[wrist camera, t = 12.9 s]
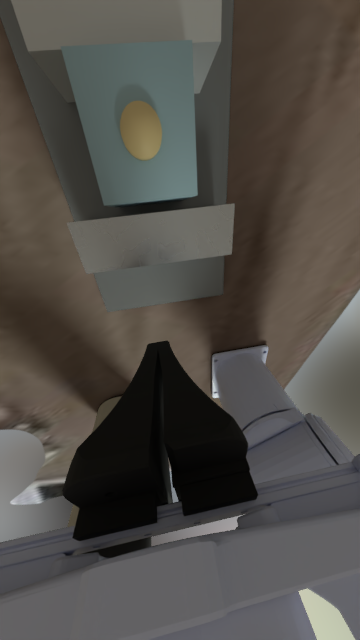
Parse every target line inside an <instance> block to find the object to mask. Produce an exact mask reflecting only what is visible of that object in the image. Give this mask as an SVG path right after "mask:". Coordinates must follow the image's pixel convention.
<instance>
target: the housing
mask: <svg viewBox="0 0 360 640" xmlns="http://www.w3.org/2000/svg"><path fill="white" fill-rule="evenodd" d="M60 47H61V50H62V54H63V58H64V61H65V65H66V69H67V72H68V76H69V79H70V83H71V87H72V90H73V94H74V98H75V101H76V105H77V109H78V112H79V116H80V120H81V123H82V127H83V131H84V134H85V138H86V141H87V145H88V149H89V152H90V156H91V160H92V163H93V167H94V171H95V174H96V178H97V182H98V185H99V189H100V192H101V196H102V200H103V203H104V206H111V207H127V206H135V205H144V204H153V203H162V202H171V201H180V200H185V199H188V198H191V197H194V196H197V195H198V190H197V161H196V133H195V105H194V77H193V48H192V40H180V41H160V42H140V43H119V44H99V45H79V46H60Z"/></svg>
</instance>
